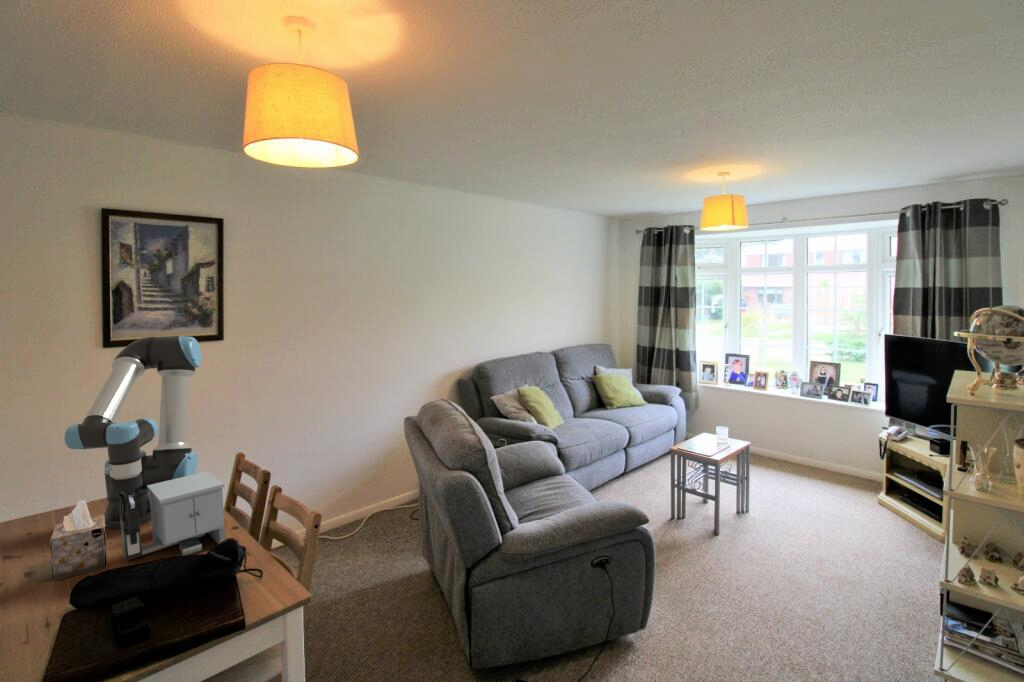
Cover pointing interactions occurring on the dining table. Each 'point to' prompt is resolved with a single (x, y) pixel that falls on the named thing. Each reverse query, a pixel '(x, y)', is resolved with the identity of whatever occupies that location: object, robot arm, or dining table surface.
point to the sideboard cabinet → (187, 508)
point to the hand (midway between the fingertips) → (132, 550)
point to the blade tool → (143, 549)
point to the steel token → (190, 546)
